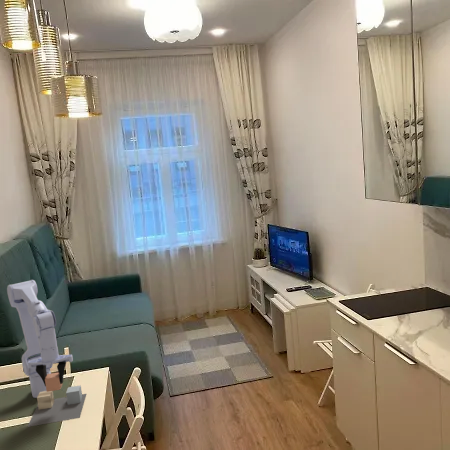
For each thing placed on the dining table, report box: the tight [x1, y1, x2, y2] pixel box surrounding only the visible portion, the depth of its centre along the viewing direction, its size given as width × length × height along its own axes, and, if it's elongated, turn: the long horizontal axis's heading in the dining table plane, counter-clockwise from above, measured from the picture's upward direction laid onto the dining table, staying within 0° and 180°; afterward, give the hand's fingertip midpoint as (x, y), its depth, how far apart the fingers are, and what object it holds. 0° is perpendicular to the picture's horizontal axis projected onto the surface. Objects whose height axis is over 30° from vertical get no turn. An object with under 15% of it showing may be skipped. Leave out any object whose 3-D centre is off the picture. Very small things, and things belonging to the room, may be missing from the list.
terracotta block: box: [45, 371, 64, 392], centre depth 167 cm, size 4×4×4 cm
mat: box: [26, 393, 87, 428], centre depth 169 cm, size 18×17×1 cm
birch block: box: [36, 391, 55, 410], centre depth 173 cm, size 4×4×4 cm
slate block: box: [65, 384, 83, 405], centre depth 174 cm, size 4×4×4 cm
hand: (54, 383), depth 168 cm, fingers closed on terracotta block, 4 cm apart
